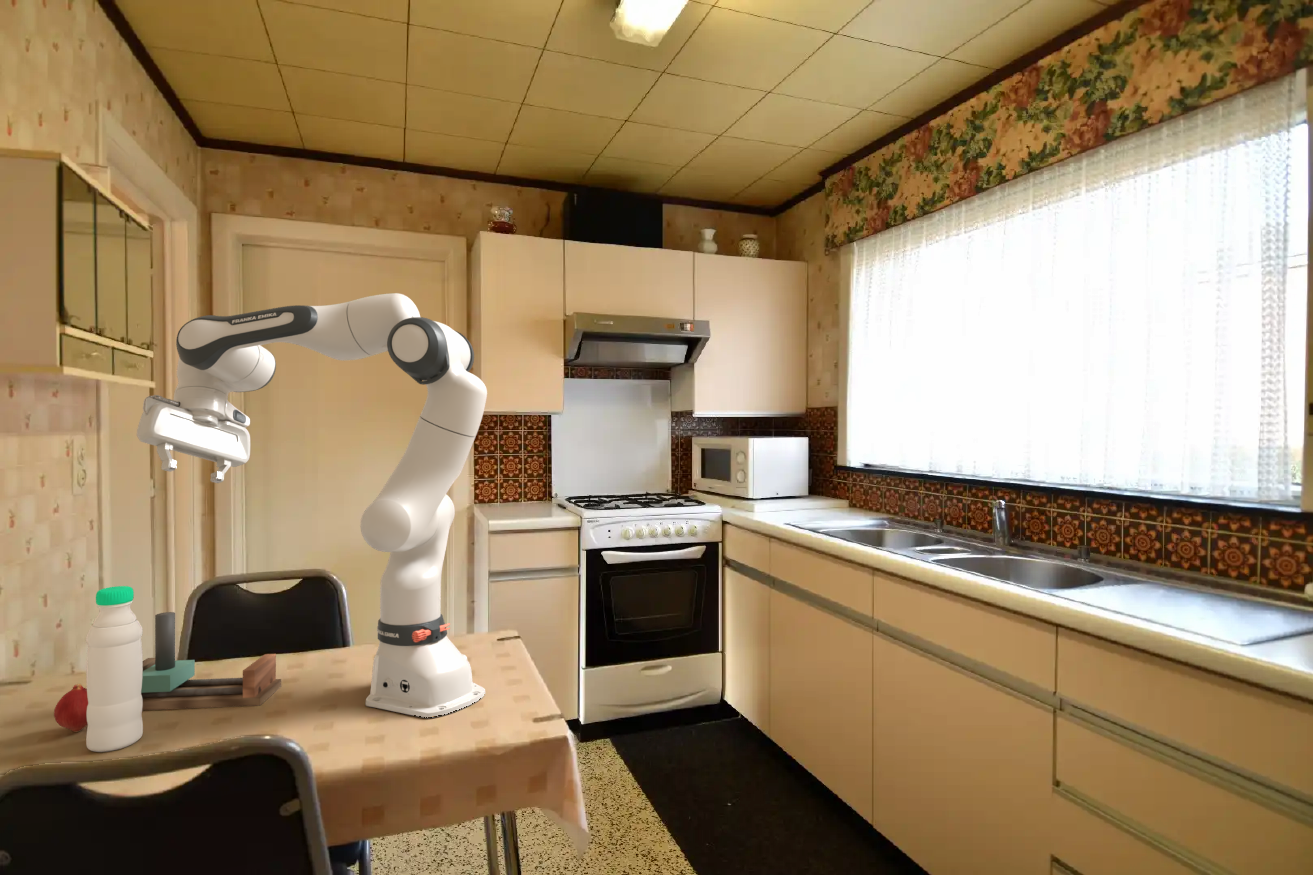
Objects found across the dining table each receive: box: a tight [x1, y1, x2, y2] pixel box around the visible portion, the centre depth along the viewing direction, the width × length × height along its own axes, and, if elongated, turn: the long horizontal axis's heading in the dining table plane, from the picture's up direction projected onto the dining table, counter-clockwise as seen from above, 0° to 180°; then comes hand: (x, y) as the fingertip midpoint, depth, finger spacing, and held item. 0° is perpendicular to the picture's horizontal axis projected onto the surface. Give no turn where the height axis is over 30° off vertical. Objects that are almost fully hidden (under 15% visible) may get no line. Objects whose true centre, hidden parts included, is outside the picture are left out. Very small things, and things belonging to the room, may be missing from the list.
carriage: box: [141, 611, 196, 693], centre depth 125 cm, size 6×8×13 cm
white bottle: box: [85, 585, 144, 753], centre depth 108 cm, size 7×7×25 cm
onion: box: [53, 683, 88, 733], centre depth 112 cm, size 6×6×8 cm
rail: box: [141, 653, 282, 711], centre depth 126 cm, size 24×9×6 cm, turn 97°
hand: (193, 476), depth 127 cm, fingers open, 8 cm apart
